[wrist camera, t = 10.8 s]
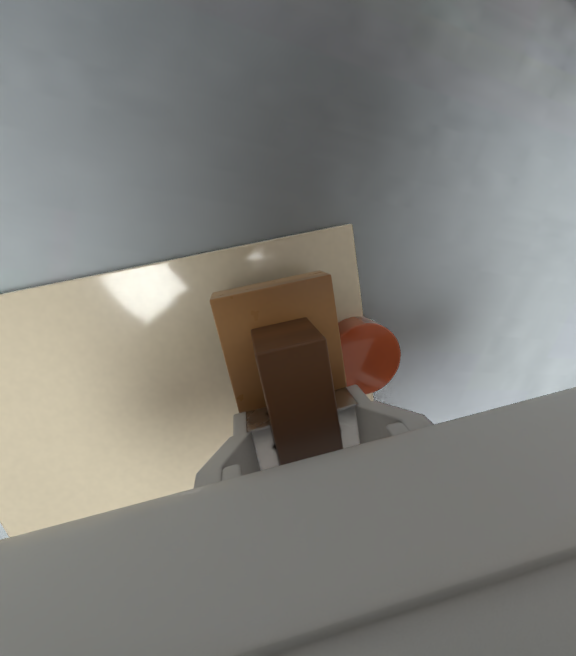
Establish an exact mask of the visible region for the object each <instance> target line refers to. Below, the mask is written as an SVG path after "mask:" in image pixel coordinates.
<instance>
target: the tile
mask: <svg viewBox="0 0 576 656" xmlns="http://www.w3.org/2000/svg"><path fill="white" fill-rule="evenodd" d="M319 270H320V271H323V272H325V273H328V274H331V277H332V284H333V291H334V298H335V305H336V312H337V319H338V322H340V321H342V320H344V319H347V318H350V317H357V316H360V317H363V309H362V300H361V292H360V284H359V276H358V268H357V259H356V251H355V243H354V235H353V226H352V224H344V225H339V226H334V227H329V228H324V229H319V230H314V231H309V232H304V233H299V234H294V235H289V236H284V237H279V238H274V239H269V240H264V241H259V242H254V243H249V244H244V245H239V246H234V247H229V248H224V249H219V250H214V251H209V252H204V253H199V254H194V255H190V256H185V257H180V258H175V259H170V260H165V261H160V262H155V263H150V264H145V265H140V266H135V267H130V268H125V269H120V270H115V271H110V272H105V273H100V274H95V275H90V276H85V277H80V278H75V279H70V280H65V281H60V282H55V283H50V284H45V285H40V286H35V287H30V288H25V289H21V290H16V291H11V292H6V293H1V294H0V523H1V524H2V526H3V527H4V529H5V531H6V532H7V534H8V536H9V537H13V536H17V535H20V534H24V533H28V532H32V531H36V530H39V529H43V528H47V527H51V526H54V525H58V524H62V523H66V522H69V521H73V520H77V519H81V518H85V517H88V516H92V515H96V514H100V513H103V512H107V511H111V510H115V509H118V508H122V507H126V506H130V505H134V504H137V503H141V502H145V501H149V500H152V499H156V498H160V497H164V496H167V495H171V494H175V493H179V492H182V491H186V490H190V489H194V483H195V477H196V473H197V472H198V471H199V470H200V469H201V468H202V467H203V466H204V465H205V464H206V463H207V461H208V460H209V459H210V458H211V457H212V456H213V455H214V454H215V453H216V452H217V451H218V449H219V448H220V447H221V446H222V445H223V444H224V443H225V442H226V441H227V440H228V439H229V437H232V436H233V416H234V414H238V413H239V412H238V408H237V404H236V400H235V397H234V393H233V389H232V385H231V381H230V378H229V374H228V370H227V366H226V362H225V359H224V355H223V351H222V347H221V343H220V340H219V336H218V332H217V328H216V324H215V321H214V317H213V313H212V309H211V305H210V302H209V301H210V298H211V295H212V293H213V292H218V291H223V290H228V289H233V288H237V287H242V286H247V285H252V284H256V283H261V282H266V281H271V280H276V279H280V278H285V277H290V276H295V275H300V274H304V273H309V272H314V271H319ZM365 395H366V396H367V397H368V398H369V399H370V401H374V399H373V393H370V394H365Z"/></svg>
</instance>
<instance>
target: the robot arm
mask: <svg viewBox="0 0 576 656" xmlns="http://www.w3.org/2000/svg"><path fill="white" fill-rule="evenodd" d="M334 392H335V398H336V405H337V411H338V418H339V424H340V430H341V437H342V443H343V449H341V450H337V451H333V452H329V453H325V454H322V455H318V456H314V457H310V458H307V459H303V460H299V461H295V462H291V463H288V464H284V465H280V462H279V458H278V454H277V449H276V445H275V441H274V436H273V432H272V428H271V424H270V419H269V415H268V411H267V407H264V408H260V409H255V410H251V411H246V412H242V413H238V414H234V416H233V436H232V437H229V439H228V440H227V441H226V442H225V443H224V444H223V445H222V446H221V447H220V448H219V449H218V451H217V452H216V453H215V454H214V455H213V456H212V457H211V458H210V459H209V460H208V461H207V463H206V464H205V465H204V466H203V467H202V468H201V469H200V470H199V471H198V472H197V473H196V477H195V483H194V489H190V490H186V491H182V492H179V493H175V494H171V495H167V496H164V497H160V498H156V499H152V500H149V501H145V502H141V503H137V504H134V505H130V506H126V507H122V508H118V509H115V510H111V511H107V512H103V513H100V514H96V515H92V516H88V517H85V518H81V519H77V520H73V521H69V522H66V523H62V524H58V525H54V526H51V527H47V528H43V529H39V530H36V531H32V532H28V533H24V534H20V535H17V536H13V537H9V538H5V539H2V540H0V656H576V387H574V388H570V389H566V390H562V391H559V392H555V393H551V394H547V395H544V396H540V397H536V398H532V399H528V400H525V401H521V402H517V403H513V404H510V405H506V406H502V407H498V408H495V409H491V410H487V411H483V412H480V413H476V414H472V415H468V416H465V417H461V418H457V419H453V420H450V421H446V422H442V423H438V424H433V423H432V422H431V421H430V420H429V419H428V418H427V417H426V416H424V415H423V414H419V413H416V412H413V411H409V410H406V409H402V408H399V407H395V406H392V405H388V404H385V403H381V402H378V401H370V399H369V398H368V397H367V396H366V395H365V393H364V392H363V391H362V390H361V389H360V388H359V386H358V385H356V384H355V385H352V386H348V387H344V388H341V389H337V390H334Z"/></svg>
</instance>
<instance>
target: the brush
mask: <svg viewBox="0 0 576 656" xmlns="http://www.w3.org/2000/svg"><path fill="white" fill-rule="evenodd" d="M209 302H210V305H211V309H212V313H213V317H214V321H215V324H216V328H217V332H218V336H219V340H220V343H221V347H222V351H223V355H224V359H225V362H226V366H227V370H228V374H229V378H230V381H231V385H232V389H233V393H234V397H235V400H236V404H237V408H238V412H239V413H242V412H246V411H251V410H255V409H260V408H264V407H267V411H268V415H269V419H270V424H271V428H272V432H273V436H274V441H275V445H276V449H277V454H278V458H279V462H280V465H284V464H288V463H291V462H295V461H299V460H303V459H307V458H310V457H314V456H318V455H322V454H325V453H329V452H333V451H337V450H341V449H343V443H342V437H341V430H340V424H339V418H338V411H337V405H336V398H335V392H334V390H337V389H341V388H344V387H347V382H346V375H345V368H344V361H343V354H342V347H341V340H340V333H339V326H338V319H337V312H336V305H335V298H334V291H333V284H332V277H331V274H328V273H325V272H323V271H320V270H319V271H314V272H309V273H304V274H300V275H295V276H290V277H285V278H280V279H276V280H271V281H266V282H261V283H256V284H252V285H247V286H242V287H237V288H233V289H228V290H223V291H218V292H213V293H212V295H211V298H210V301H209Z"/></svg>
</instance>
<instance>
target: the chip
mask: <svg viewBox="0 0 576 656" xmlns="http://www.w3.org/2000/svg"><path fill="white" fill-rule="evenodd" d="M338 326H339V333H340V340H341V347H342V354H343V361H344V368H345V375H346V382H347V387H348V386H352V385H355V384H356V385H358V386H359V388H360V389H361V390H362V391H363V392H364V393H365V394H370V393H373V392H375V391H377V390H379V389H381V388H383V387H384V386H385V385H386V384H387V383H388V382H389V381H390V380H391V379H392V378H393V376H394V375H395V373H396V371H397V369H398V367H399V363H400V357H401V352H400V346H399V343H398V341H397V338H396V337H395V335H394V334H393V333H392V332H391V331H390V330H389V329H387V328H386V327H384V326H382V325H381V324H379V323H377V322H376V321H374V320H372V319H370V318H366V317H360V316H357V317H350V318H347V319H344V320H342V321H340V322H338Z"/></svg>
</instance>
